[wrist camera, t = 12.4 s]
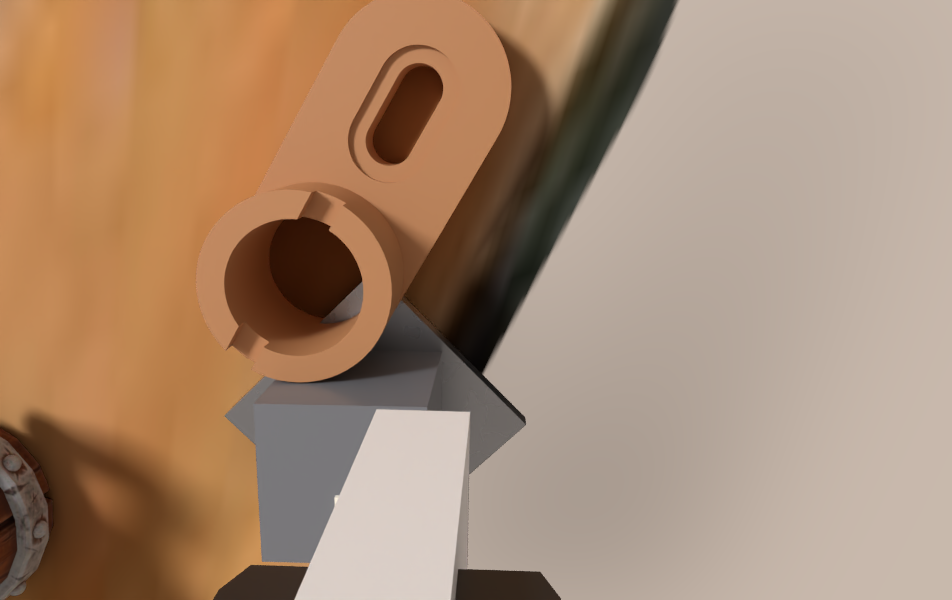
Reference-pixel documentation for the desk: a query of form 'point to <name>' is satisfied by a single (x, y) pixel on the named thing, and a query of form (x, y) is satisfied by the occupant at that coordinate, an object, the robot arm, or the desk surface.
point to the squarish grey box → (327, 441)
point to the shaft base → (460, 379)
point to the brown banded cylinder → (21, 515)
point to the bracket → (358, 184)
